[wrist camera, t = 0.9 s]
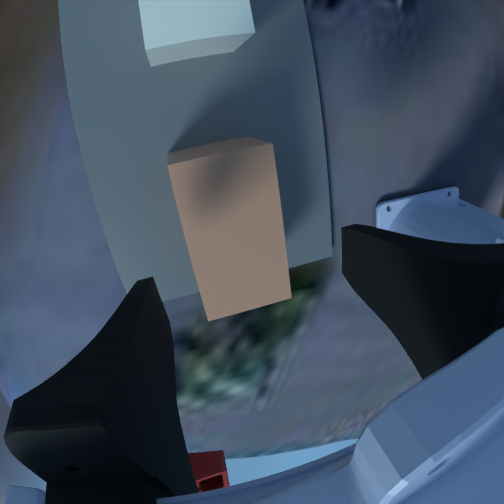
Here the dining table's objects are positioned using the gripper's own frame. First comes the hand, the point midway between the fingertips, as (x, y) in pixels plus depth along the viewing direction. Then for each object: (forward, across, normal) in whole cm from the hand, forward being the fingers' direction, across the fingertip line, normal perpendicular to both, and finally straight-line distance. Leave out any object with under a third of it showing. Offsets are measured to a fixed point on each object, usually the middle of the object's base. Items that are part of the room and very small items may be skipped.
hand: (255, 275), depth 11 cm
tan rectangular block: (+8, 0, 0) cm, 8 cm away
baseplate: (+8, 0, -7) cm, 11 cm away
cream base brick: (+8, 0, -13) cm, 15 cm away
